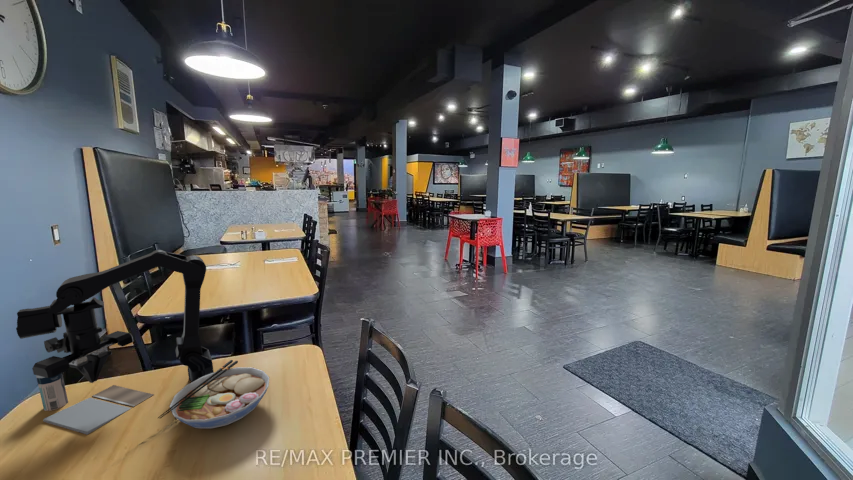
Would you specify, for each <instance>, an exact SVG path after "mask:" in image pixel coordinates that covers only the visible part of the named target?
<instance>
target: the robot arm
mask: <svg viewBox="0 0 853 480" xmlns="http://www.w3.org/2000/svg"><path fill="white" fill-rule="evenodd" d="M159 267H160V268H163V269H168V270H170V271H173V272H175V273H179V274H181V275H182V279H183V284H184V311H183V313H184V314H183V332H182V334H181V337H179V336H178V337H176V338H175V341H176V347H175V356H176V359H177V360H179V363H180V364H182V365H183V366H185V367H187V375H188V379H189V381H190V383H191V382H193V381H195V380H197V379H199V378H201V377H203V376H206V375H208V374H211V373H214V365H213V359H212V356H211V353H210V349H208V348H206V347H204V346H202V343H201V342H202V341H201V337H200V315H201V314H200V313H201V289H202V286H203V284H204V280H205V277H206V272H207V266H206V263H205V261H204V260H203V259H202V258H201V257H200V256H197V255H194V254H193V255H187V256H186V255H183V254H180V253H179V254H178V253H173V252H168V251H165V250H163V249H156V250H153V251H152V252H150V253H147V254H145V255H142V256H139V257H137V258H134V259H131V260H128V261H126V262H124V263H121V264H118V265H115V266H113V267H110V268H107V269H105V270H103V271H99V272H98V271H97V272H92V273H84V274H82V275H77V276H72V277H69V278H67V279H66V280H64V281H63V282H62V283H61V285H60V286H59V287H58V288H57V290H56V294H55V296H56V299H54V300H53V301H52V302H51V304H50V305H47V306H46V305H45V306H41V307H34V308H22V309H19V310H18V311H17V312H16V315H17V319H16V321H17V322H16V328H15V329H16V330H15V331H16V334H17V336H18V338H19V339H20V340H22V339H28V338H32V337H38V336H42V335H43V336H44V335H49V334H54V333H56V332H57V329H58V328H62V326H63V322H64V326H65V332H63V333H62V334H63V335H62V338H60V339H58V337H56V336H55V337H52V338H50V339H47V340H44V341H43V343H44V345H43V346H44V349H45V350H46V352H47V353H52V352H55V351H56V352H57V354H58V353H61V352H63V353H66V354H68V353H70V354H68V355H65V356H63V357H60V356H56V355H52V356H50V357H47V358H44V359H42V360H40V361H36V362H35V363H34V365H33V366H32V372H33V376H36V375H38V376H42V377H46V378H50V377H54V376H56V375H59V374H61V373H62V374H63V373H65V372H67V371H68V370H69V368H74V369H76V370H78V371H79V372H80V373H81V374H82V376H83V377H84V378H85V379H86V380H87V381H88V382H89V383H90V384H93V383H96V382H97V381H98V379H99V376H100V375H101V372H102V369H103V367H104V365H105V363H106V362H107V360H108V357H109V356H111V355H112V354H113V353H112V351H108V348H109V347H111V346H113V345H116V344H117V346H120V347H125V346H127V345H130V344H132V343H133V342H134V337H133V335H132V333H130V332H126V331H120V330H115V331H114V332H112V333H108V334H106V335H104V336H103V337H102V341H101V336H100V333H101V332H103V327H100V326H98V320H97V316H96V311H95V309H101V308H103V306H104V303H105V302H104V300H101V299H97V298H96V297H94V296H96V295H97V294H99V293H100V292H102V291H104V290H105V289H106V288H108V287H111V286H112V285H115V284H118V283H120V282H123V281H125V280H128V279H130V278H133V277H136V276H138V275H140V274H143V273H146V272H147V271H151V270H153V269H155V268H159ZM87 300H89V301H87ZM62 317H63V318H62Z"/></svg>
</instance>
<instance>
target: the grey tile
mask: <svg viewBox="0 0 853 480" xmlns="http://www.w3.org/2000/svg"><path fill="white" fill-rule="evenodd" d="M131 409H132V407H130V406H126V405H122V404H118V403H114V402H110V401H106V400H102V399H98V398H94V397H88V398H86V399H84V400H81V401H79V402H77V403H75V404H72V405H71V406H68V407H67V408H63V409H62V410H59V411H58V412H56V413H53V414H52V415H49V416H46V417H44V418H43V420H42V421H43V422H44V423H47V424H50V425H53V426H56V427H61V428H64V429H66V430H67V429H68V430H70V431H74V432H77V433H81V434H84V435H89V434H92V432H94V431H96V430H97V429H99V428H101V427H103V426H104V425H106V424H108V423H110V422H112V421H114V419H117V418H118V417H120V416H121V415H123V414H125V413H126V412H128V411H130V410H131Z"/></svg>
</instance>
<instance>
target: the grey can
mask: <svg viewBox="0 0 853 480" xmlns="http://www.w3.org/2000/svg"><path fill="white" fill-rule="evenodd" d="M35 378H36V381H37V385H38V390H39V395H40V399H41V404H42V408H43V411H44V412H46V411H47V412H51V411H54V410H58V409H60V408H62V407H64V406H66V405H67V404H68V403H69V398H68V394H67V391H66V390H67V389H66V384H65V380H64V375H63V373H61V374H59V375H56V376H54V377H50V378H46V377H42V376H38V375H35Z"/></svg>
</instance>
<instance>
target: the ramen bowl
mask: <svg viewBox="0 0 853 480" xmlns="http://www.w3.org/2000/svg"><path fill="white" fill-rule="evenodd" d="M238 363H239V361H238V360H235V361H233V359H230V360H229V361H227V362H226V363H225V364H224V365H223V366H221V367H220V368H219V369H218V370H216V371H215V372H214V373H211V374H208V375H206V376H203V377H201V378H199V379H197V380H195V381H193V382H191V381H190V382H189V383H187V384H185V386H183V387H182V388H181V389H180V390H179V391H178V392H177V393H176V394H174V396H173V398H172V400H171V402H170V403H169V405H168V406H169V408H168V409H167V410H166V411H164V412H162V414H161V415H159V416H158V417H157V419H159V420H160V419H162V418H163V417H165V416H166V415H167V414H169V413H170V412H171V413H172V415H173V417H174V418H176V420H178V421H179V422H181V423H184V424H186V425H187V426H189V427H192V428H195V429H215V428H219V427H224V426H225V427H226V426H228V425H230V424H231V425H232V423H235V422H237V421H239V420H241V419H242V418H244V417H246V416H247V415H248V414H250V413H251V412H252V411H253V410H255V409H256V408H257V406H258V404H259V403H260V401H261V400H262V399H263V398H264V396H265V395H266V393H267V391H268V389H269V387H270V376H269V375H268V374H267V373H266V372H265V371H264V370H261V369H258V368H254V367H250V366H249V367H248V366H247V367H244V366H243V367H242V366H240V367H239V366H238V367H234V366H235V365H237V364H238Z"/></svg>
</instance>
